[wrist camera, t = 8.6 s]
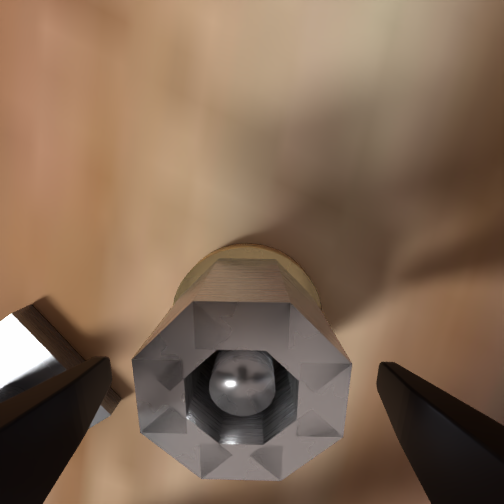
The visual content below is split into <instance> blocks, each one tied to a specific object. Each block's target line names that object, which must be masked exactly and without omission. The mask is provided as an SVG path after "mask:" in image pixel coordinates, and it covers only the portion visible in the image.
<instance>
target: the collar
mask: <svg viewBox="0 0 504 504" xmlns="http://www.w3.org/2000/svg"><path fill="white" fill-rule="evenodd" d="M218 350H261V351H267V352H268V353H269V354H270V355H271V356H272V359H273V369H274V378H275V395H274V398H273V400H272V402H271V403H270V405H269V406H268V407H267V408H265V409H264V410H263V411H261V412H259V413H257V414H254V415H249V416H236V415H232V414H229V413H227V412H225V411H223V410H222V409H220V408H219V407H218V406H217V405H216V404H215V403H214V401H213V400H212V398H211V395H210V392H209V383H210V379H211V375H212V371H213V367H214V363H215V359H216V355H217V351H218ZM132 366H133V375H134V383H135V392H136V400H137V409H138V417H139V426H140V433H142V434H143V435H144V436H146V437H147V438H148V439H150V440H151V441H152V442H154V443H155V444H156V445H157V446H159V447H160V448H161V449H163V450H164V451H165V452H167V453H168V454H169V455H171V456H172V457H173V458H175V459H176V460H177V461H179V462H180V463H181V464H183V465H184V466H185V467H186V468H188V469H189V470H190V471H192V472H193V473H194V474H196V475H197V476H198V477H200V478H201V479H227V480H267V481H281V480H283V479H284V478H286V477H287V476H289V475H290V474H291V473H293V472H294V471H296V470H297V469H298V468H300V467H301V466H303V465H304V464H306V463H307V462H308V461H310V460H311V459H313V458H314V457H316V456H317V455H318V454H320V453H321V452H323V451H324V450H325V449H327V448H328V447H330V446H331V445H333V444H334V443H335V442H337V441H338V440H340V439H341V438H343V433H344V425H345V417H346V409H347V401H348V393H349V385H350V377H351V369H352V363H351V361H350V359H349V357H348V356H347V354H346V352H345V351H344V349H343V347H342V346H341V344H340V342H339V340H338V339H337V337H336V335H335V334H334V332H333V330H332V329H331V327H330V325H329V323H328V322H327V320H326V318H325V317H324V315H323V313H322V311H321V310H320V308H319V306H318V305H317V303H316V301H315V300H314V298H313V297H312V296H311V295H310V294H309V293H308V292H307V291H306V290H305V289H304V288H303V286H302V285H301V284H300V283H299V282H298V281H297V280H296V279H295V278H294V277H293V276H292V275H291V274H290V273H289V272H288V271H287V270H286V269H285V268H284V267H283V266H282V265H281V264H280V263H279V262H278V261H277V260H276V259H235V258H219V259H218V260H217V261H216V262H215V263H214V264H213V265H212V266H211V267H210V268H208V269H207V270H206V271H205V272H204V273H203V274H202V275H201V276H200V277H199V278H198V279H197V280H196V281H195V282H194V283H193V284H192V285H191V286H190V287H189V288H188V289H187V290H186V291H185V292H184V293H183V294H182V295H181V296H180V297H179V298H178V300H177V301H176V302H175V304H174V305H173V306H172V308H171V309H170V310H169V311H168V313H167V314H166V315H165V317H164V318H163V319H162V321H161V322H160V323H159V324H158V326H157V327H156V328H155V330H154V331H153V332H152V334H151V335H150V336H149V337H148V339H147V340H146V341H145V343H144V344H143V345H142V347H141V348H140V349H139V350H138V352H137V353H136V354H135V356H134V357H133V358H132Z"/></svg>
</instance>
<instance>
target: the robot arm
mask: <svg viewBox="0 0 504 504" xmlns="http://www.w3.org/2000/svg"><path fill="white" fill-rule="evenodd" d="M111 383H112V371H111V364H110V359H109V358H108V357H106V356H95V357H93V358H91V359H89V360H87V361H85V362H83V363H81V364H79V365H77V366H74V367H72V368H70V369H68V370H66V371H64V372H62V373H60V374H58V375H56V376H54V377H52V378H50V379H48V380H46V381H44V382H42V383H40V384H38V385H36V386H34V387H32V388H30V389H28V390H26V391H24V392H22V393H20V394H18V395H16V396H14V397H12V398H10V399H8V400H6V401H4V402H2V403H0V504H43V502H44V501H45V499H46V497H47V496H48V494H49V493H50V491H51V489H52V488H53V486H54V485H55V483H56V481H57V480H58V478H59V476H60V475H61V473H62V472H63V470H64V468H65V467H66V465H67V464H68V462H69V460H70V459H71V457H72V456H73V454H74V452H75V451H76V449H77V448H78V446H79V444H80V443H81V441H82V439H83V438H84V436H85V434H86V432H87V430H88V429H89V427H90V425H91V423H92V421H93V419H94V417H95V415H96V413H97V411H98V409H99V407H100V405H101V403H102V401H103V399H104V397H105V396H106V394H107V392H108V390H109V388H110V386H111ZM376 384H377V390H378V393H379V395H380V398H381V400H382V402H383V405H384V407H385V409H386V412H387V414H388V417H389V419H390V421H391V424H392V426H393V429H394V431H395V433H396V436H397V438H398V440H399V442H400V444H401V446H402V448H403V450H404V452H405V454H406V456H407V458H408V460H409V462H410V464H411V466H412V468H413V470H414V472H415V473H416V475H417V477H418V479H419V481H420V483H421V485H422V487H423V489H424V491H425V493H426V494H427V496H428V498H429V500H430V502H431V504H504V426H503V425H502V424H500V423H498V422H496V421H495V420H493V419H491V418H490V417H488V416H486V415H484V414H483V413H481V412H479V411H478V410H476V409H474V408H472V407H471V406H469V405H467V404H465V403H464V402H462V401H460V400H459V399H457V398H455V397H453V396H452V395H450V394H448V393H447V392H445V391H443V390H441V389H440V388H438V387H436V386H434V385H433V384H431V383H429V382H428V381H426V380H424V379H422V378H421V377H419V376H417V375H416V374H414V373H412V372H410V371H409V370H407V369H405V368H403V367H402V366H400V365H398V364H397V363H395V362H381V363H380V364H379V369H378V376H377V383H376Z"/></svg>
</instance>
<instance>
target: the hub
mask: <svg viewBox="0 0 504 504" xmlns="http://www.w3.org/2000/svg"><path fill="white" fill-rule="evenodd" d="M219 258H235V259H276V260H277V261H278V262H279V263H280V264H281V265H282V266H283V267H284V268H285V269H286V270H287V271H288V272H289V273H290V274H291V275H292V276H293V277H294V278H295V279H296V280H297V281H298V282H299V283H300V284H301V285H302V286H303V288H304V289H305V290H306V291H307V292H308V293H309V294H310V295H311V296H312V297H313V298H314V300H315V301H316V303H317V305H318V306H319V308H320V310H321V311H322V308H321V303H320V299H319V296H318V294H317V291H316V289H315V287H314V285H313V283H312V282H311V280H310V279H309V277H308V276H307V274H306V273H305V272H304V270H303V269H302V268H301V267H300V266H299V265H298V264H297V263H296V262H295V261H294V260H293V259H292V258H290V257H289V256H288V255H286V254H284V253H282V252H281V251H279V250H276V249H274V248H271V247H268V246H264V245H259V244H235V245H230V246H226V247H223V248H220V249H218V250H216V251H214V252H212V253H210V254H208V255H207V256H205V257H204V258H203V259H202V260H200V261H199V262H198V263H197V264H196V265H195V266H194V267H193V268H192V270H191V271H190V272H189V273H188V274H187V275H186V277H185V278H184V279H183V281H182V282H181V284H180V286H179V288H178V290H177V293H176V296H175V298H174V303H173V305H174V304H175V302H176V301H177V300H178V298H179V297H180V296H181V295H182V294H183V293H184V292H185V291H186V290H187V289H188V288H189V287H190V286H191V285H192V284H193V283H194V282H195V281H196V280H197V279H198V278H199V277H200V276H201V275H202V274H203V273H204V272H205V271H206V270H207V269H208V268H210V267H211V266H212V265H213V264H214V263H215V262H216V261H217V260H218V259H219ZM209 392H210V395H211V398H212V400H213V401H214V403H215V404H216V405H217V406H218V407H219V408H220V409H222V410H223V411H225V412H227V413H229V414H232V415H236V416H249V415H254V414H257V413H259V412H261V411H263V410H264V409H265V408H267V407H268V406H269V405H270V403H271V402H272V400H273V398H274V395H275V378H274V369H273V359H272V356H271V355H270V354H269V353H268V352H267V351H261V350H218V351H217V355H216V359H215V363H214V367H213V371H212V375H211V379H210V383H209Z"/></svg>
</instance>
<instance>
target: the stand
mask: <svg viewBox="0 0 504 504" xmlns="http://www.w3.org/2000/svg"><path fill="white" fill-rule="evenodd" d="M83 362H85V360H84V359H83V358H82V357H81V356H80V355H79V354H78V353H77V352H76V351H75V350H74V349H73V348H72V347H71V346H70V345H69V343H68V342H67V341H66V340H65V339H64V338H63V337H62V336H61V335H60V334H59V333H58V332H57V331H56V330H55V329H54V328H53V327H52V326H51V325H50V323H49V322H48V321H47V320H46V319H45V318H44V317H43V316H42V315H41V314H40V313H39V312H38V311H37V310H36V309H35V308H34V307H33V306H32V305H31V304H30V305H28V306H26V307H24V308H22V309H20V310H18V311H16V312H13V313H11V314H10V315H9V316H7V317H6V318H5V319H3V320H2V321H1V322H0V403H2V402H4V401H6V400H8V399H10V398H12V397H14V396H16V395H18V394H20V393H22V392H24V391H26V390H28V389H30V388H32V387H34V386H36V385H38V384H40V383H42V382H44V381H46V380H48V379H50V378H52V377H54V376H56V375H58V374H60V373H62V372H64V371H66V370H68V369H70V368H72V367H74V366H77V365H79V364H81V363H83ZM120 401H121V398H120V397H119V396H118V395H117V394H116V393H115V392H114V391H113V390H112V389H111V388H109V390H108V392H107V394H106V396H105V397H104V399H103V401H102V403H101V405H100V407H99V409H98V411H97V413H96V415H95V417H94V419H93V421H92V423H91V425H90V427H89V428H91V427H92V426H94V425H95V424H97V423H99V422H100V421H102V420H104V419H105V418H107V417H109V416H110V415H111V414H112V413H113V411H114V410H115V408H116V407H117V405H118V404H119V402H120Z"/></svg>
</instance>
